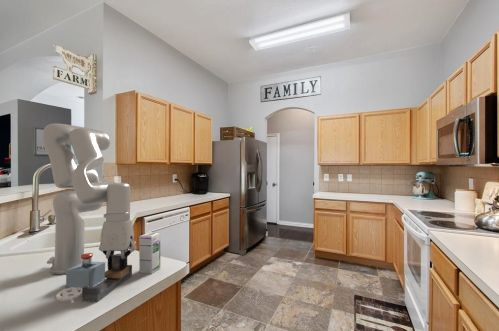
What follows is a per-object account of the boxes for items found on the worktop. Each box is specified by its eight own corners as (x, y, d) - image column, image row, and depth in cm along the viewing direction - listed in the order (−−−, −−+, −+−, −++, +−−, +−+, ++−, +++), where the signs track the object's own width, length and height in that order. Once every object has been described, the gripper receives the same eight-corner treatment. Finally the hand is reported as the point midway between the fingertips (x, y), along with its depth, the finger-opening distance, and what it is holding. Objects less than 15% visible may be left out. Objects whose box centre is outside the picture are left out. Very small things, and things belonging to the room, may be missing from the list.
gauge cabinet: (65, 288, 78) (66, 270, 78) (84, 277, 86) (84, 261, 86) (88, 289, 77) (88, 271, 77) (105, 278, 85) (105, 262, 85)
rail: (81, 301, 70) (82, 287, 70) (119, 275, 88) (119, 264, 88) (97, 301, 70) (97, 288, 70) (131, 275, 88) (132, 264, 88)
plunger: (78, 267, 80) (78, 256, 80) (85, 263, 84) (86, 252, 84) (87, 267, 80) (87, 256, 80) (94, 263, 83) (95, 253, 83)
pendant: (81, 286, 80) (81, 284, 80) (88, 299, 72) (88, 296, 72) (55, 294, 75) (55, 291, 75) (58, 308, 67) (58, 305, 67)
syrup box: (152, 274, 89) (152, 236, 89) (138, 272, 90) (139, 235, 91) (160, 268, 95) (161, 232, 95) (147, 267, 96) (148, 231, 96)
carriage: (104, 277, 81) (104, 257, 81) (113, 271, 86) (114, 252, 86) (120, 278, 80) (121, 258, 80) (129, 272, 85) (129, 253, 85)
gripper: (88, 219, 80) (87, 272, 80) (134, 219, 79) (133, 273, 79) (103, 215, 88) (102, 264, 87) (145, 215, 87) (145, 265, 86)
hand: (117, 268), depth 83 cm, fingers closed on carriage, 3 cm apart
